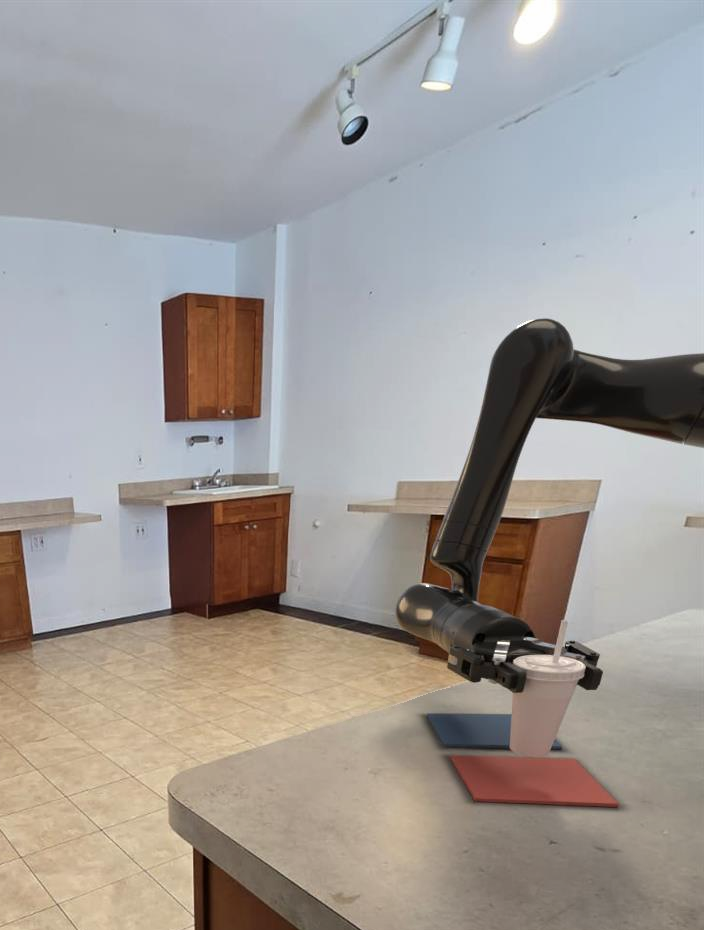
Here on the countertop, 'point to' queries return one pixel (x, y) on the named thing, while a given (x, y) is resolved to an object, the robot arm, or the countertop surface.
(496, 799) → the red mat
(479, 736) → the blue mat
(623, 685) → the countertop surface
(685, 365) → the robot arm
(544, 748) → the smoothie
